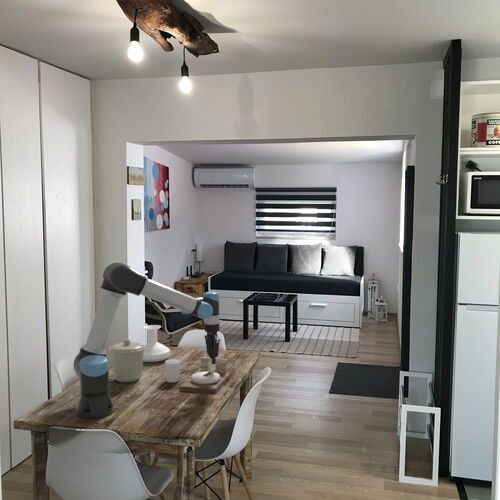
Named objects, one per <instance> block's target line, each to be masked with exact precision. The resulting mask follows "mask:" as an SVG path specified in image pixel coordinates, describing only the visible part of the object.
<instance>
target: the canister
mask: <svg viewBox="0 0 500 500" xmlns="http://www.w3.org/2000/svg"><path fill="white" fill-rule="evenodd" d="M144 345H145V344H142V343H141V342H134V341H131V339H130V338H125V339H123V342H120V343H116V344H113V345H112V346H110V347H109V348H108V352H110V353H109V354H110V358H111V366H112V371H113V377H114V380H115V381H117V382H118V383H119V382H120V383H133V382H136V381H137V380H139V379H140V378H141V377H142V374H143V365H144V364H143V363H144V362H143V356H144V349H145V346H144Z"/></svg>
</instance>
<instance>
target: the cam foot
mask: <svg viewBox="0 0 500 500" xmlns="http://www.w3.org/2000/svg"><path fill="white" fill-rule="evenodd" d="M194 373H195V372H194ZM194 373H193V374H192V375H191V376H190V377H191V381H192V382H193V383H196V384H213V383H216V382H218V381H219V380H220V375H219V374H218V373H215V372H214V370H213V371H210V362H208V372H198V373H195V374H194Z"/></svg>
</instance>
